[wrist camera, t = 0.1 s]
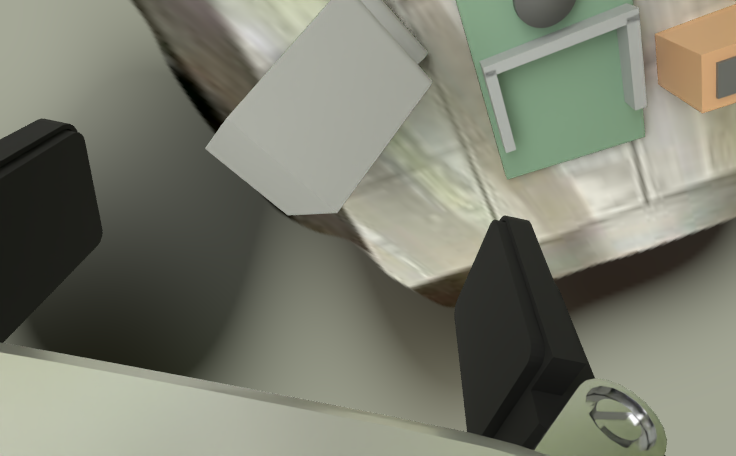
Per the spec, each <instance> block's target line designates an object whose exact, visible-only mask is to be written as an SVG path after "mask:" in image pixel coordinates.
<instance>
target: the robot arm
mask: <svg viewBox="0 0 736 456" xmlns="http://www.w3.org/2000/svg"><path fill="white" fill-rule="evenodd" d="M101 237H102V226H101V221H100V215H99V210H98V205H97V200H96V195H95V190H94V185H93V180H92V175H91V170H90V165H89V160H88V155H87V149H86V144H85V140H84V137H83V136H82V134H80V133H78V132H77V130H76V128H75V127H74V126H73V125H71V124H67V123H62V122H57V121H52V120H47V119H39V120H37V121H35V122H33V123H31V124H29V125H27V126H25V127H23V128H21V129H19V130H18V131H16V132H14V133H12V134H10V135H8V136H6V137H4V138H2V139H0V456H665V455H664V454H665V452H666V445H667V438H666V435H665V431H664V428H663V426H662V424H661V422H660V420H659V419H658V417H657V416H656V414H655V413H654V412H653V411H652V409H651V408H650V407H649V406H648V405H647V404H646V402H644V401H643V400H642V399H641V398H640V397H638V396H637V395H636V394H635V393H633V392H632V391H630V390H628V389H627V388H625V387H623V386H622V385H620V384H617V383H614V382H612V381H609V380H604V379H596V378H595V377H594V375H593V372H592V370H591V368H590V365H589V362H588V360H587V357H586V355H585V353H584V351H583V348H582V345H581V343H580V340H579V338H578V335H577V333H576V330H575V328H574V325H573V323H572V320H571V318H570V316H569V313H568V311H567V308H566V306H565V303H564V301H563V298H562V296H561V293H560V291H559V289H558V287H557V285H556V284H555V283H554V281H553V278H552V275H551V273H550V270H549V268H548V265H547V263H546V260H545V258H544V255H543V253H542V250H541V248H540V245H539V243H538V240H537V238H536V235H535V233H534V230H533V228H532V225H531V223H530V222H529V221H528V220H523V219H519V218H514V217H509V216H503V217H502V218H501V219H500V221H498V220H493V221H492V222H491V224H490V226H489V229H488V231H487V233H486V235H485V238H484V240H483V242H482V245H481V247H480V249H479V252H478V254H477V256H476V258H475V261H474V263H473V265H472V268H471V270H470V272H469V274H468V277H467V279H466V281H465V284H464V286H463V288H462V291H461V293H460V295H459V297H458V300H457V302H456V306H455V325H456V335H457V343H458V353H459V362H460V371H461V380H462V389H463V397H464V407H465V416H466V425H467V432H464V431H459V430H455V429H449V428H445V427H440V426H435V425H430V424H426V423H421V422H416V421H411V420H407V419H402V418H397V417H393V416H387V415H383V414H378V413H372V412H367V411H362V410H357V409H352V408H346V407H341V406H336V405H331V404H326V403H320V402H315V401H310V400H305V399H299V398H295V397H289V396H284V395H279V394H274V393H269V392H263V391H258V390H253V389H248V388H243V387H237V386H232V385H227V384H221V383H216V382H210V381H206V380H200V379H195V378H190V377H184V376H179V375H174V374H168V373H163V372H158V371H152V370H147V369H142V368H136V367H131V366H126V365H120V364H115V363H110V362H104V361H98V360H94V359H88V358H83V357H77V356H72V355H66V354H61V353H55V352H50V351H44V350H39V349H34V348H28V347H23V346H16V345H11V344H6V343H3V342H4V341H5V340H6V339H7V338H8V337H9V336H10V335H11V334H12V333H13V332H14V331H15V330H16V329H17V328H18V326H20V325H21V324H22V323H23V322H24V321H25V319H26V318H27V317H28V316H29V315H30V314H31V313H32V312H33V311H34V310H35V309H36V308H37V307H38V306H39V305H40V304H41V303H42V302H43V301H44V300H45V299H46V298H47V297H48V296H49V295H50V294H51V293H52V292H53V291H54V290H55V289H56V288H57V287H58V285H60V284H61V283H62V282H63V281H64V279H65V278H66V277H67V276H68V275H69V274H70V273H71V272H72V271H73V270H74V269H75V268H76V267H77V266H78V265H79V264H80V263H81V262H82V261H83V260H84V259H85V258H86V257H87V256H88V255H89V254H90V253H91V252H92V251H93V250H94V248H96V246H97V245H98V244H99V243H100V241H101Z"/></svg>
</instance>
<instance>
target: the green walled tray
mask: <svg viewBox="0 0 736 456" xmlns="http://www.w3.org/2000/svg"><path fill="white" fill-rule="evenodd" d="M456 3H457V6H458V10H459V13H460V17H461V20H462V24H463V27H464V31H465V34H466V38H467V41H468V45H469V48H470V52H471V55H472V59H473V62H474V66H475V69H476V73H477V77H478V80H479V84H480V87H481V91H482V94H483V98H484V101H485V105H486V108H487V112H488V115H489V119H490V122H491V126H492V129H493V133H494V136H495V140H496V143H497V147H498V150H499V154H500V157H501V161H502V164H503V168H504V171H505V175H506V177H507V179H511V178H514V177H517V176H520V175H524V174H527V173H530V172H533V171H536V170H540V169H543V168H546V167H549V166H552V165H556V164H559V163H562V162H565V161H568V160H572V159H575V158H578V157H581V156H585V155H588V154H591V153H594V152H597V151H601V150H604V149H607V148H610V147H613V146H617V145H620V144H623V143H626V142H630V141H633V140H636V139H639V138H642V137H645V130H644V119H643V108H645V107H647V99H646V87H645V75H644V64H643V52H642V40H641V28H640V16H639V7H636V6H633V0H456Z"/></svg>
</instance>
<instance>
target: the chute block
mask: <svg viewBox="0 0 736 456" xmlns="http://www.w3.org/2000/svg"><path fill="white" fill-rule="evenodd" d="M655 44H656V58H657V73H658V85H660V86H661V87H663V88H664V89H666V90H667V91H669V92H671V93H672V94H674V95H675V96H677V97H678V98H680V99H681V100H683V101H684V102H686V103H687V104H689V105H690V106H692V107H693V108H695V109H696V110H698V111H700V112H701V113H705V112H708V111H711V110H714V109H718V108H721V107H724V106H727V105H730V104H733V103H736V4H734V5H731V6H729V7H726V8H723V9H721V10H718V11H715V12H713V13H710V14H707V15H704V16H702V17H699V18H696V19H694V20H691V21H688V22H686V23H683V24H680V25H677V26H675V27H672V28H669V29H667V30H664V31H661V32H659V33H656V34H655Z"/></svg>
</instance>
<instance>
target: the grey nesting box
mask: <svg viewBox="0 0 736 456" xmlns="http://www.w3.org/2000/svg"><path fill="white" fill-rule="evenodd" d="M427 54H428V52H427V51H426V50H425V48H424V47H423V46H422V45H421V44H420V43H419V42H418V40H417V39H416V38H415V37H414V36H413V35H412V33H411V32H410V31H409V30H408V29H407V28H406V27H405V25H404V24H403V23H402V22H401V21H400V20H399V19H398V17H397V16H396V15H395V14H394V13H393V12H392V11H391V9H390V8H389V7H388V6H387V5H386V4H385V3H384V1H383V0H330V1H329V2H328V4H327V5H326V6H325V7H324V8H323V9H322V10H321V12H320V13H319V14H318V15H317V16H316V17H315V18H314V19H313V21H312V22H311V23H310V24H309V25H308V26H307V27H306V29H305V30H304V31H303V32H302V33H301V34H300V35H299V37H298V38H297V39H296V40H295V41H294V42H293V43H292V44H291V46H290V47H289V48H288V49H287V50H286V51H285V52H284V54H283V55H282V56H281V57H280V58H279V59H278V60H277V62H276V63H275V64H274V65H273V66H272V67H271V68H270V70H269V71H268V72H267V73H266V74H265V75H264V76H263V77H262V79H261V80H260V81H259V82H258V83H257V84H256V85H255V87H254V88H253V89H252V90H251V91H250V92H249V93H248V95H247V96H246V97H245V98H244V99H243V100H242V101H241V103H240V104H239V105H238V106H237V107H236V108H235V109H234V110H233V112H232V113H231V114H230V115H229V116H228V117H227V118H226V120H225V121H224V123H223V124H222V125H221V127H220V128H219V130H218V131H217V132H216V134H215V135H214V137H213V138H212V139H211V141H210V142H209V144H208V145H207V146H206V148H205V149H206V150H208V151H209V152H210V153H211V154H213V155H214V156H215V157H216V158H217V159H219V160H220V161H221V162H222V163H224V164H225V165H226V166H228V167H229V168H230V169H231V170H232V171H234V172H235V173H236V174H237V175H239V176H240V177H241V178H242V179H244V180H245V181H246V182H247V183H248V184H250V185H251V186H252V187H253V188H255V189H256V190H257V191H258V192H260V193H261V194H262V195H263V196H265V197H266V198H267V199H268V200H269V201H271V202H272V203H273V204H274V205H276V206H277V207H278V208H279V209H281V210H282V211H283V212H284V213H286V214H287V215H301V214H323V213H338V211H339V210H340V208H341V207H342V206H343V204H344V203H345V202H346V200H347V199H348V198H349V196H350V195H351V193H352V192H353V191H354V189H355V188H356V187H357V185H358V184H359V183H360V181H361V180H362V178H363V177H364V176H365V174H366V173H367V172H368V170H369V169H370V168H371V166H372V165H373V163H374V162H375V161H376V159H377V158H378V157H379V155H380V154H381V152H382V151H383V150H384V148H385V147H386V146H387V144H388V143H389V142H390V140H391V139H392V137H393V136H394V135H395V133H396V132H397V131H398V129H399V128H400V127H401V125H402V124H403V122H404V121H405V120H406V118H407V117H408V116H409V114H410V113H411V112H412V110H413V109H414V107H415V106H416V105H417V103H418V102H419V101H420V99H421V98H422V97H423V95H424V94H425V92H426V91H427V90H428V88H429V87H430V86H431V84H432V82H433V81H432V80H431V79H430V78H429V76H428V75H427V74H426V73H425V72H424V71H423V70H422V69H421V67H420V66H419V65H418V64H419V63H420V62H421V61H422V60H423V59H424V58H425V57H426V56H427Z"/></svg>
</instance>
